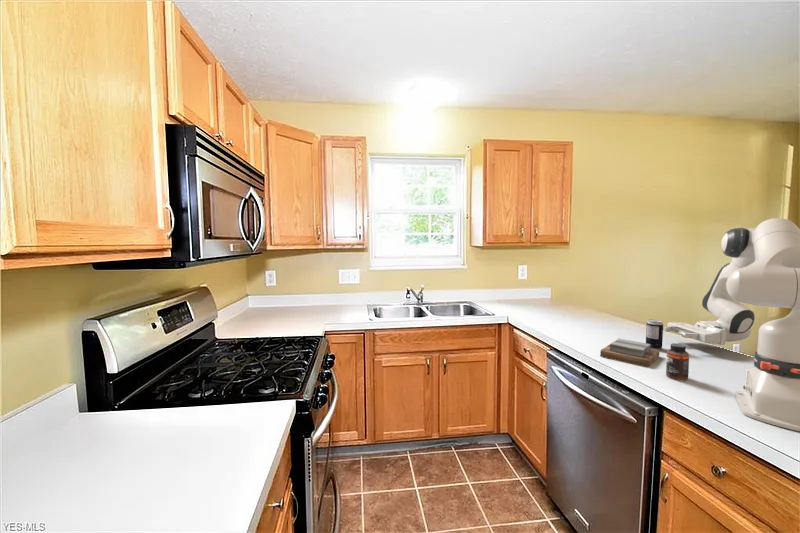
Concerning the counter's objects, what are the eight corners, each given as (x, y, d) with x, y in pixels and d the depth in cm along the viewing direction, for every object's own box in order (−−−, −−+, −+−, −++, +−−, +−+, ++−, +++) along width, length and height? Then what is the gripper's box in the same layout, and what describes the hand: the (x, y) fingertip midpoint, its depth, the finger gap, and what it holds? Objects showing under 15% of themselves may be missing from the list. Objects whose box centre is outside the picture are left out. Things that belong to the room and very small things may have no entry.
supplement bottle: (689, 377, 118) (691, 344, 117) (686, 382, 114) (688, 349, 113) (667, 372, 122) (668, 341, 121) (664, 377, 118) (665, 345, 117)
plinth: (648, 367, 127) (648, 353, 127) (600, 356, 139) (600, 344, 139) (659, 356, 138) (659, 344, 137) (613, 347, 150) (614, 335, 149)
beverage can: (664, 350, 144) (666, 322, 143) (649, 350, 145) (650, 322, 144) (657, 346, 149) (659, 319, 148) (642, 346, 151) (644, 318, 150)
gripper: (685, 318, 157) (655, 319, 157) (729, 330, 137) (695, 331, 136) (684, 332, 158) (655, 332, 157) (728, 346, 137) (694, 347, 137)
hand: (674, 332), depth 147 cm, fingers open, 8 cm apart
